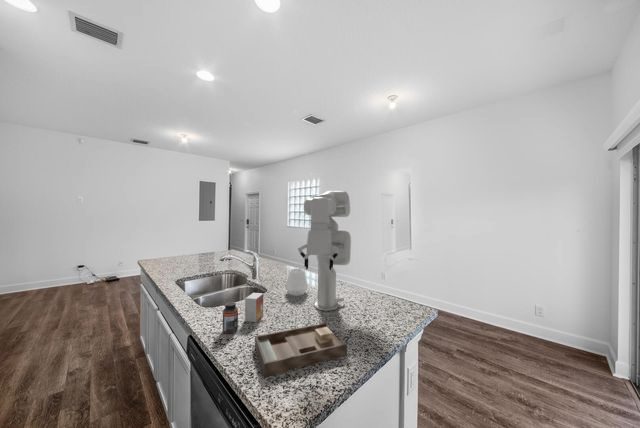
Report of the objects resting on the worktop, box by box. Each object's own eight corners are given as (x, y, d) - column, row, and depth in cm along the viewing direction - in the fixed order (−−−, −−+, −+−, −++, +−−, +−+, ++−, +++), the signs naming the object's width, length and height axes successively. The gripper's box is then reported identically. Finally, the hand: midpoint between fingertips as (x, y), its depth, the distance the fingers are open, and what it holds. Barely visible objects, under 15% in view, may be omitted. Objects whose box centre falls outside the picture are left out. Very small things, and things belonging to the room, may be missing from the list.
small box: (255, 322, 109) (256, 299, 109) (244, 321, 110) (244, 298, 110) (263, 315, 117) (263, 293, 117) (252, 314, 118) (253, 292, 118)
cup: (282, 290, 152) (283, 268, 151) (303, 288, 157) (303, 266, 157) (289, 298, 139) (289, 273, 139) (311, 295, 145) (311, 271, 144)
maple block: (326, 334, 95) (326, 326, 95) (332, 340, 90) (332, 332, 90) (314, 337, 93) (314, 329, 93) (320, 343, 88) (320, 335, 88)
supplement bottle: (225, 327, 104) (225, 300, 104) (239, 326, 105) (239, 300, 105) (220, 334, 99) (220, 306, 98) (235, 333, 99) (236, 306, 99)
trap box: (325, 332, 102) (325, 322, 101) (347, 355, 86) (347, 344, 86) (254, 347, 90) (254, 336, 90) (264, 377, 74) (264, 363, 74)
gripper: (339, 227, 105) (339, 267, 105) (299, 226, 106) (298, 266, 105) (341, 228, 98) (340, 271, 97) (297, 227, 98) (296, 270, 98)
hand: (318, 268), depth 101 cm, fingers open, 9 cm apart
